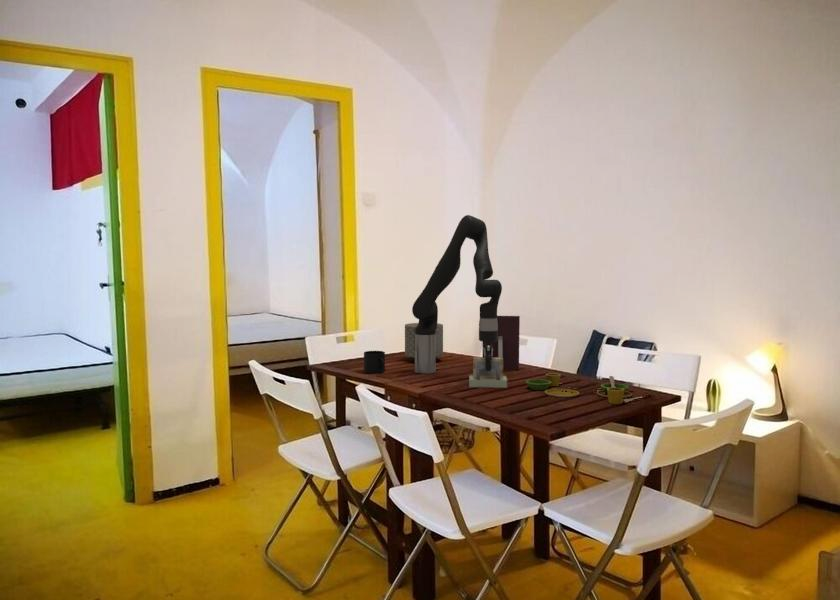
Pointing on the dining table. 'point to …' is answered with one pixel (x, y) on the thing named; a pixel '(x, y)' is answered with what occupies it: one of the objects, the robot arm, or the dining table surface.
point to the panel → (480, 364)
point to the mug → (374, 362)
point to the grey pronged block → (488, 381)
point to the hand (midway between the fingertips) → (488, 369)
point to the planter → (411, 340)
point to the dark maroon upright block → (507, 342)
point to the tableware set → (552, 379)
